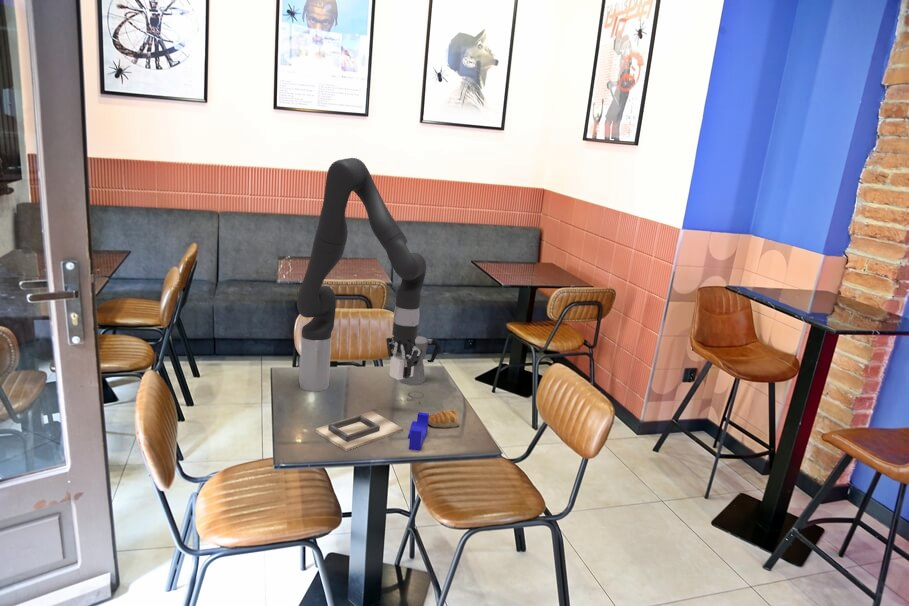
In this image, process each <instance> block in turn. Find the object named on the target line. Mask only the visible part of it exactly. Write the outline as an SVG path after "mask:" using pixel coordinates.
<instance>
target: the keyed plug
mask: <svg viewBox="0 0 909 606" xmlns="http://www.w3.org/2000/svg"><path fill="white" fill-rule="evenodd" d="M406 356H409V355H406ZM408 362H409V359H408ZM389 363H390V364H389V373H388V375H389V377H391V378H393V379H395V380H397V381H399V380H401V379H404V378H403V372H404V367H405V366H404V359H402V355H397V356H393V357H390V362H389ZM413 370H414V366H413V367H411V375H410V377H412V376H413Z"/></svg>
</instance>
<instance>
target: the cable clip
mask: <svg viewBox="0 0 909 606" xmlns="http://www.w3.org/2000/svg"><path fill="white" fill-rule="evenodd" d="M429 416H430V413H427V412H420V411H419V412H417V417H416V421H415V420H412V421H411V424H410V428H409V430H408V431H409V432H408V435H407V439H409V444H408V450H411V451H418V452H419V451H421V448H422V446H423V443H424V441H425V440H426V439H425V438H426V436H427V433H428V429H429V428H428V427H429V424H428V419H429ZM420 447H421V448H420Z"/></svg>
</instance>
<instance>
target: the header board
mask: <svg viewBox="0 0 909 606" xmlns="http://www.w3.org/2000/svg"><path fill="white" fill-rule="evenodd" d="M403 431H404V428H403V427H401V426H400V425H397V424H396V423H394V422H392V421H391V420H389V419H387V418H386V417H384V416H382V415H379V414H378V413H376V412H374V411H372V410H371V411H367V412H365V413H361V414H358V415H355V416H351V417H349V418H348V417H347V418H345V419H342V420H337V421H336V422H332V423H329V424H325V425H323V426H320V427H315V428H314V432H315V433H316V434H317V435H319V436H321V437H323V438H324V439H325V440H327V441H328V442H330V443H331V444H333V445H335V446H337V447H338V448H339V447H340V448H339V449H341V450H342V449H343V451H345V452H348V450H349V451H351V450H350V449H352V450H354V449H357V448H360V447H362V445H363V446H365V445H367V443H368V444H371V443H373V441H374V442H376V440H377V441H379V440H382V439H384V438H387V437H390V436H393V435H395V434H399V433H401V432H403ZM370 442H371V443H370ZM364 444H365V445H364ZM359 446H360V447H359ZM356 447H357V448H356ZM353 448H354V449H353Z"/></svg>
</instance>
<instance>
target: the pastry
mask: <svg viewBox="0 0 909 606" xmlns="http://www.w3.org/2000/svg"><path fill="white" fill-rule="evenodd" d="M429 425H430V427H431V426H432V427H433V428H441V429H442V428H445V429H446V428H456V427H458V426H459V425H460V418H459V413H458V412H457V410H455V409H449V410H448V409H446V410H445V409H444V410H439V411H438V412H436V413H432V414H429V419H428V426H429Z"/></svg>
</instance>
